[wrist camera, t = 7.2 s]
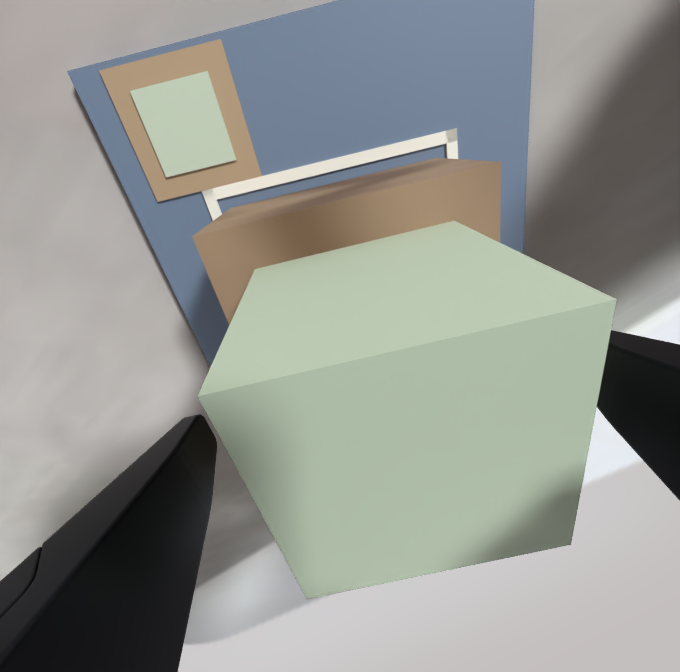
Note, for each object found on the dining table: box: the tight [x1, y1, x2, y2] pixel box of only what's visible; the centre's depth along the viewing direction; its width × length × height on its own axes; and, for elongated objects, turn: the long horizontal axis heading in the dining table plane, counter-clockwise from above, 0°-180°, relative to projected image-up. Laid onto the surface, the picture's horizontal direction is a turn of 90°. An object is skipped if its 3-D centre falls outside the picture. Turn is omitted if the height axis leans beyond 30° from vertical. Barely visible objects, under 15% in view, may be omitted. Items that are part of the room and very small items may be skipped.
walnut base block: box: [192, 158, 501, 325], centre depth 13 cm, size 8×8×5 cm
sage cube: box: [197, 221, 617, 599], centre depth 8 cm, size 6×6×6 cm
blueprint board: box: [67, 0, 534, 367], centre depth 15 cm, size 15×18×1 cm
